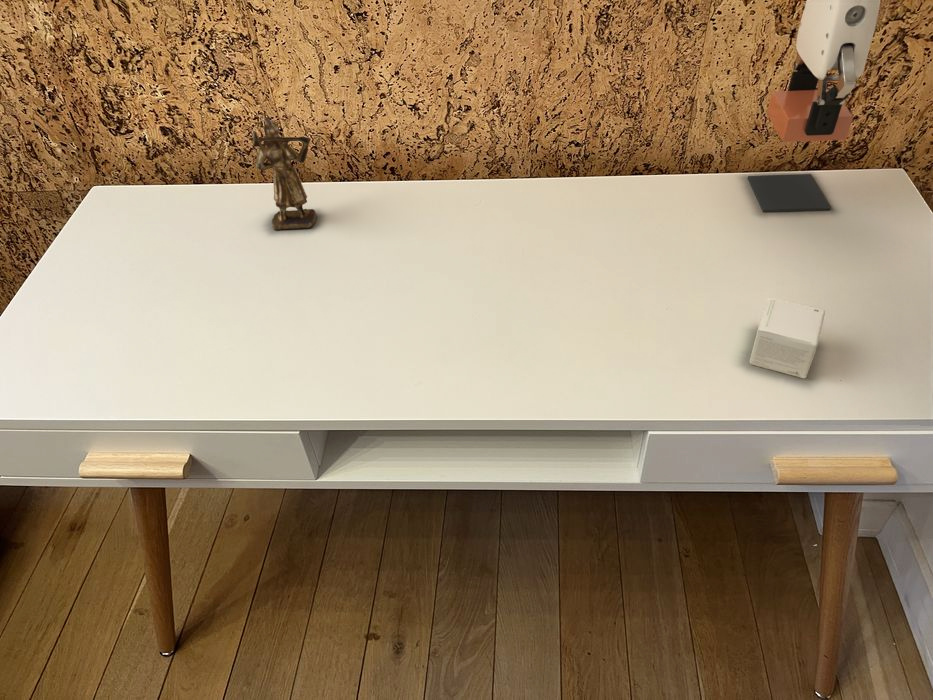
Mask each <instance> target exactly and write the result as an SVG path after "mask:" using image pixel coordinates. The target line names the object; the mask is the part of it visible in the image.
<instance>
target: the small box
mask: <svg viewBox="0 0 933 700" xmlns="http://www.w3.org/2000/svg"><path fill="white" fill-rule="evenodd" d="M825 314H826V310H825V309H823V308H818V307H814V306H809V305H805V304H801V303H796V302H791V301H787V300H783V299H779V298H775V297H774V298H773V297H768V298H767V299H766V302H765V305H764V308H763V311H762V313H761V317H760V321H759V324H758V328H757V332H756V335H755V339H754V343H753V346H752V350H751V354H750V358H749V364H750V365H752V366H754V367H759V368H763V369H767V370H771V371H774V372H778V373H783V374H785V375H790V376H793V377H797V378H800V379H803V380H804V379H806V378H807V376H808V374H809V371H810V368H811V365H812V362H813V359H814V357H815V355H816V351H817V348H818V345H819V341H820V337H821V331H822V327H823V324H824V319H825V316H826V315H825Z"/></svg>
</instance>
